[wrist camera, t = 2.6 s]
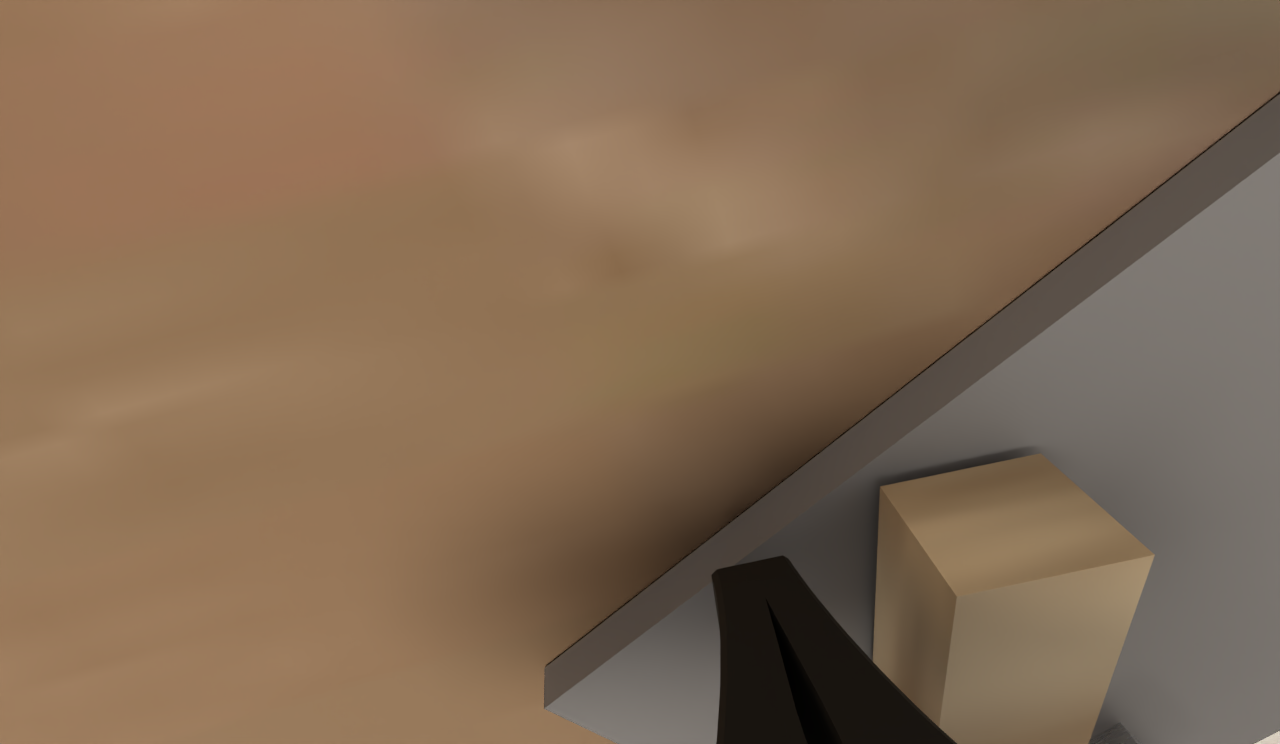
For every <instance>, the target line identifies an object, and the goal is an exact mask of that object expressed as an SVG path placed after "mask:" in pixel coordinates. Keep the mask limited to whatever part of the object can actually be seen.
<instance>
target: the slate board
mask: <svg viewBox="0 0 1280 744" xmlns="http://www.w3.org/2000/svg"><path fill="white" fill-rule="evenodd" d="M1040 453H1041V454H1042V455H1043V456H1044V457H1045V458H1047V459H1048V460H1049V461H1050V462H1051V463H1052V464H1053V465H1054V466H1056V467H1057V468H1058V469H1059V470H1060V471H1061V472H1062V473H1063V474H1065V475H1066V476H1067V477H1068V478H1069V479H1070V480H1071V481H1072V482H1074V483H1075V484H1076V485H1077V486H1078V487H1079V488H1080V489H1081V490H1083V491H1084V492H1085V493H1086V494H1087V495H1088V496H1089V497H1090V498H1092V499H1093V500H1094V501H1095V502H1096V503H1097V504H1098V505H1099V506H1101V507H1102V508H1103V509H1104V510H1105V511H1106V512H1107V513H1108V514H1110V515H1111V516H1112V517H1113V518H1114V519H1115V520H1116V521H1117V522H1118V523H1120V524H1121V525H1122V526H1123V527H1124V528H1125V529H1126V530H1127V531H1129V532H1130V533H1131V534H1132V535H1133V536H1134V537H1135V538H1136V539H1138V540H1139V541H1140V542H1141V543H1142V544H1143V545H1144V546H1145V547H1147V548H1148V549H1149V550H1150V551H1151V552H1152V553H1153V554H1154V555H1155V556H1154V559H1153V562H1152V564H1151V567H1150V570H1149V573H1148V576H1147V579H1146V582H1145V584H1144V587H1143V590H1142V593H1141V596H1140V599H1139V601H1138V604H1137V607H1136V610H1135V613H1134V616H1133V619H1132V621H1131V624H1130V627H1129V630H1128V633H1127V636H1126V638H1125V641H1124V644H1123V647H1122V650H1121V653H1120V656H1119V658H1118V661H1117V664H1116V667H1115V670H1114V673H1113V676H1112V678H1111V681H1110V684H1109V687H1108V690H1107V693H1106V695H1105V698H1104V701H1103V704H1102V707H1101V710H1100V713H1099V715H1098V718H1097V721H1096V724H1095V727H1094V730H1093V733H1092V735H1091V738H1093V737H1095V736H1097V735H1099V734H1100V733H1102V732H1104V731H1106V730H1108V729H1110V728H1111V727H1113V726H1115V725H1117V724H1119V723H1121V724H1122V725H1123V726H1124V727H1125V728H1127V729H1128V730H1129V731H1130V732H1131V733H1132V734H1133V735H1134V736H1135V737H1136V738H1137V739H1138V740H1139V741H1140V742H1141V743H1142V744H1254V743H1256V742H1258V741H1260V740H1262V739H1264V738H1266V737H1268V736H1270V735H1272V734H1274V733H1276V732H1278V731H1280V94H1279V95H1278V96H1276V97H1275V98H1274V99H1272V100H1271V101H1270V102H1269V103H1267V104H1266V105H1265V106H1264V107H1262V108H1261V109H1260V110H1258V111H1257V112H1256V113H1255V114H1253V115H1252V116H1251V117H1249V118H1248V119H1247V120H1246V121H1244V122H1243V123H1242V124H1240V125H1239V126H1238V127H1237V128H1235V129H1234V130H1233V131H1232V132H1230V133H1229V134H1228V135H1226V136H1225V137H1224V138H1223V139H1221V140H1220V141H1219V142H1217V143H1216V144H1215V145H1214V146H1212V147H1211V148H1210V149H1208V150H1207V151H1206V152H1205V153H1203V154H1202V155H1201V156H1199V157H1198V158H1197V159H1196V160H1194V161H1193V162H1192V163H1191V164H1189V165H1188V166H1187V167H1185V168H1184V169H1183V170H1182V171H1180V172H1179V173H1178V174H1176V175H1175V176H1174V177H1173V178H1171V179H1170V180H1169V181H1167V182H1166V183H1165V184H1164V185H1162V186H1161V187H1160V188H1159V189H1157V190H1156V191H1155V192H1153V193H1152V194H1151V195H1150V196H1148V197H1147V198H1146V199H1144V200H1143V201H1142V202H1141V203H1139V204H1138V205H1137V206H1135V207H1134V208H1133V209H1132V210H1130V211H1129V212H1128V213H1127V214H1125V215H1124V216H1123V217H1121V218H1120V219H1119V220H1118V221H1116V222H1115V223H1114V224H1112V225H1111V226H1110V227H1109V228H1107V229H1106V230H1105V231H1103V232H1102V233H1101V234H1100V235H1098V236H1097V237H1096V238H1094V239H1093V240H1092V241H1091V242H1089V243H1088V244H1087V245H1086V246H1084V247H1083V248H1082V249H1080V250H1079V251H1078V252H1077V253H1075V254H1074V255H1073V256H1071V257H1070V258H1069V259H1068V260H1066V261H1065V262H1064V263H1062V264H1061V265H1060V266H1059V267H1057V268H1056V269H1055V270H1054V271H1052V272H1051V273H1050V274H1048V275H1047V276H1046V277H1045V278H1043V279H1042V280H1041V281H1039V282H1038V283H1037V284H1036V285H1034V286H1033V287H1032V288H1030V289H1029V290H1028V291H1027V292H1025V293H1024V294H1023V295H1021V296H1020V297H1019V298H1018V299H1016V300H1015V301H1014V302H1013V303H1011V304H1010V305H1009V306H1007V307H1006V308H1005V309H1004V310H1002V311H1001V312H1000V313H998V314H997V315H996V316H995V317H993V318H992V319H991V320H989V321H988V322H987V323H986V324H984V325H983V326H982V327H981V328H979V329H978V330H977V331H975V332H974V333H973V334H972V335H970V336H969V337H968V338H966V339H965V340H964V341H963V342H961V343H960V344H959V345H957V346H956V347H955V348H954V349H952V350H951V351H950V352H949V353H947V354H946V355H945V356H943V357H942V358H941V359H940V360H938V361H937V362H936V363H934V364H933V365H932V366H931V367H929V368H928V369H927V370H925V371H924V372H923V373H922V374H920V375H919V376H918V377H916V378H915V379H914V380H913V381H911V382H910V383H909V384H908V385H906V386H905V387H904V388H902V389H901V390H900V391H899V392H897V393H896V394H895V395H893V396H892V397H891V398H890V399H888V400H887V401H886V402H884V403H883V404H882V405H881V406H879V407H878V408H877V409H876V410H874V411H873V412H872V413H870V414H869V415H868V416H867V417H865V418H864V419H863V420H861V421H860V422H859V423H858V424H856V425H855V426H854V427H852V428H851V429H850V430H849V431H847V432H846V433H845V434H843V435H842V436H841V437H840V438H838V439H837V440H836V441H835V442H833V443H832V444H831V445H829V446H828V447H827V448H826V449H824V450H823V451H822V452H820V453H819V454H818V455H817V456H815V457H814V458H813V459H811V460H810V461H809V462H808V463H806V464H805V465H804V466H803V467H801V468H800V469H799V470H797V471H796V472H795V473H794V474H792V475H791V476H790V477H788V478H787V479H786V480H785V481H783V482H782V483H781V484H779V485H778V486H777V487H776V488H774V489H773V490H772V491H771V492H769V493H768V494H767V495H765V496H764V497H763V498H762V499H760V500H759V501H758V502H756V503H755V504H754V505H753V506H751V507H750V508H749V509H747V510H746V511H745V512H744V513H742V514H741V515H740V516H738V517H737V518H736V519H735V520H733V521H732V522H731V523H730V524H728V525H727V526H726V527H724V528H723V529H722V530H721V531H719V532H718V533H717V534H715V535H714V536H713V537H712V538H710V539H709V540H708V541H706V542H705V543H704V544H703V545H701V546H700V547H699V548H698V549H696V550H695V551H694V552H692V553H691V554H690V555H689V556H687V557H686V558H685V559H683V560H682V561H681V562H680V563H678V564H677V565H676V566H674V567H673V568H672V569H671V570H669V571H668V572H667V573H665V574H664V575H663V576H662V577H660V578H659V579H658V580H657V581H655V582H654V583H653V584H651V585H650V586H649V587H648V588H646V589H645V590H644V591H642V592H641V593H640V594H639V595H637V596H636V597H635V598H633V599H632V600H631V601H630V602H628V603H627V604H626V605H625V606H623V607H622V608H621V609H619V610H618V611H617V612H616V613H614V614H613V615H612V616H610V617H609V618H608V619H607V620H605V621H604V622H603V623H601V624H600V625H599V626H598V627H596V628H595V629H594V630H593V631H591V632H590V633H589V634H587V635H586V636H585V637H584V638H582V639H581V640H580V641H578V642H577V643H576V644H575V645H573V646H572V647H571V648H569V649H568V650H567V651H566V652H564V653H563V654H562V655H560V656H559V657H558V658H557V659H555V660H554V661H553V662H552V663H550V664H549V665H548V666H546V667H545V678H544V709H546V710H548V711H550V712H552V713H554V714H556V715H558V716H561V717H563V718H565V719H567V720H569V721H571V722H573V723H575V724H577V725H579V726H581V727H584V728H586V729H588V730H590V731H592V732H594V733H596V734H598V735H600V736H602V737H604V738H607V739H609V740H611V741H613V742H615V743H617V744H716V742H717V728H718V713H719V698H720V630H719V623H718V616H717V610H716V603H715V597H714V590H713V583H712V577H711V575H712V574H713V573H714V572H715V571H716V570H717V569H720V568H725V567H730V566H735V565H739V564H744V563H749V562H754V561H758V560H763V559H768V558H773V557H777V556H782V555H783V556H785V557H787V558H788V559H789V560H790V561H791V563H792V564H793V566H794V567H795V569H796V570H797V571H798V573H799V574H800V576H801V577H802V578H803V580H804V581H805V582H806V584H807V585H808V586H809V588H810V589H811V590H812V591H813V593H814V594H815V595H816V597H817V598H818V599H819V600H820V602H821V603H822V604H823V605H824V606H825V608H826V609H827V610H828V611H829V613H830V614H831V615H832V616H833V617H834V619H835V620H836V621H837V622H838V623H839V624H840V626H841V627H842V628H843V629H844V630H845V631H846V632H847V634H848V635H849V636H850V637H851V638H852V639H853V640H854V641H855V642H856V644H857V645H858V646H859V647H860V648H861V649H862V650H863V651H864V652H865V653H866V655H867V656H868V657H869V658H870V659H871V660H872V661H873V643H874V619H875V595H876V570H877V546H878V522H879V498H880V486H885V485H890V484H895V483H899V482H904V481H909V480H914V479H919V478H924V477H928V476H933V475H938V474H943V473H948V472H953V471H958V470H962V469H967V468H972V467H977V466H982V465H987V464H991V463H996V462H1001V461H1006V460H1011V459H1016V458H1021V457H1025V456H1030V455H1035V454H1040ZM1091 738H1090V739H1091Z"/></svg>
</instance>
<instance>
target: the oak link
mask: <svg viewBox="0 0 1280 744" xmlns="http://www.w3.org/2000/svg"><path fill="white" fill-rule="evenodd" d="M1154 556H1155V555H1154V554H1153V553H1152V552H1151V551H1150V550H1149V549H1148V548H1147V547H1145V546H1144V545H1143V544H1142V543H1141V542H1140V541H1139V540H1138V539H1136V538H1135V537H1134V536H1133V535H1132V534H1131V533H1130V532H1129V531H1127V530H1126V529H1125V528H1124V527H1123V526H1122V525H1121V524H1120V523H1118V522H1117V521H1116V520H1115V519H1114V518H1113V517H1112V516H1111V515H1110V514H1108V513H1107V512H1106V511H1105V510H1104V509H1103V508H1102V507H1101V506H1099V505H1098V504H1097V503H1096V502H1095V501H1094V500H1093V499H1092V498H1090V497H1089V496H1088V495H1087V494H1086V493H1085V492H1084V491H1083V490H1081V489H1080V488H1079V487H1078V486H1077V485H1076V484H1075V483H1074V482H1072V481H1071V480H1070V479H1069V478H1068V477H1067V476H1066V475H1065V474H1063V473H1062V472H1061V471H1060V470H1059V469H1058V468H1057V467H1056V466H1054V465H1053V464H1052V463H1051V462H1050V461H1049V460H1048V459H1047V458H1045V457H1044V456H1043V455H1042V454H1041V453H1040V454H1035V455H1030V456H1025V457H1021V458H1016V459H1011V460H1006V461H1001V462H996V463H991V464H987V465H982V466H977V467H972V468H967V469H962V470H958V471H953V472H948V473H943V474H938V475H933V476H928V477H924V478H919V479H914V480H909V481H904V482H899V483H895V484H890V485H885V486H880V498H879V522H878V546H877V570H876V595H875V619H874V643H873V662H874V663H875V664H876V665H877V666H878V668H879V669H880V670H881V671H882V672H883V673H884V674H885V675H886V676H887V677H888V678H889V679H890V680H891V681H892V682H893V683H894V684H895V685H896V686H897V687H898V688H899V689H900V690H901V691H902V692H903V693H904V694H905V695H906V696H907V697H908V698H909V699H910V700H911V701H912V702H913V703H914V704H915V705H916V706H917V707H918V708H919V709H920V710H921V711H922V712H923V713H924V714H925V715H927V716H928V717H929V718H930V719H931V720H932V721H933V722H934V723H935V724H936V725H937V726H938V727H939V728H940V729H942V730H943V731H944V732H945V733H946V734H947V735H948V736H949V737H950V738H952V739H953V740H954V741H955V742H956V743H957V744H1089V741H1090V738H1091V735H1092V733H1093V730H1094V727H1095V724H1096V721H1097V718H1098V715H1099V713H1100V710H1101V707H1102V704H1103V701H1104V698H1105V695H1106V693H1107V690H1108V687H1109V684H1110V681H1111V678H1112V676H1113V673H1114V670H1115V667H1116V664H1117V661H1118V658H1119V656H1120V653H1121V650H1122V647H1123V644H1124V641H1125V638H1126V636H1127V633H1128V630H1129V627H1130V624H1131V621H1132V619H1133V616H1134V613H1135V610H1136V607H1137V604H1138V601H1139V599H1140V596H1141V593H1142V590H1143V587H1144V584H1145V582H1146V579H1147V576H1148V573H1149V570H1150V567H1151V564H1152V562H1153V559H1154Z"/></svg>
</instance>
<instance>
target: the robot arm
mask: <svg viewBox="0 0 1280 744" xmlns="http://www.w3.org/2000/svg"><path fill="white" fill-rule="evenodd" d="M711 577H712V583H713V590H714V597H715V603H716V610H717V616H718V623H719V630H720V698H719V713H718V728H717V742H716V744H957V743H956V742H955V741H954V740H953V739H952V738H950V737H949V736H948V735H947V734H946V733H945V732H944V731H943V730H942V729H940V728H939V727H938V726H937V725H936V724H935V723H934V722H933V721H932V720H931V719H930V718H929V717H928V716H927V715H925V714H924V713H923V712H922V711H921V710H920V709H919V708H918V707H917V706H916V705H915V704H914V703H913V702H912V701H911V700H910V699H909V698H908V697H907V696H906V695H905V694H904V693H903V692H902V691H901V690H900V689H899V688H898V687H897V686H896V685H895V684H894V683H893V682H892V681H891V680H890V679H889V678H888V677H887V676H886V675H885V674H884V673H883V672H882V671H881V670H880V669H879V668H878V666H877V665H876V664H875V663H874V662H873V661H872V660H871V659H870V658H869V657H868V656H867V655H866V653H865V652H864V651H863V650H862V649H861V648H860V647H859V646H858V645H857V644H856V642H855V641H854V640H853V639H852V638H851V637H850V636H849V635H848V634H847V632H846V631H845V630H844V629H843V628H842V627H841V626H840V624H839V623H838V622H837V621H836V620H835V619H834V617H833V616H832V615H831V614H830V613H829V611H828V610H827V609H826V608H825V606H824V605H823V604H822V603H821V602H820V600H819V599H818V598H817V597H816V595H815V594H814V593H813V591H812V590H811V589H810V588H809V586H808V585H807V584H806V582H805V581H804V580H803V578H802V577H801V576H800V574H799V573H798V571H797V570H796V569H795V567H794V566H793V564H792V563H791V561H790V560H789V559H788V558H787V557H785V556H783V555H782V556H777V557H773V558H768V559H763V560H758V561H754V562H749V563H744V564H739V565H735V566H730V567H725V568H720V569H717V570H716V571H715V572H714V573H713V574H712V575H711Z"/></svg>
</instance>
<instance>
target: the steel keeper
mask: <svg viewBox="0 0 1280 744" xmlns="http://www.w3.org/2000/svg"><path fill="white" fill-rule="evenodd" d="M1089 744H1142V743H1141V742H1140V741H1139V740H1138V739H1137V738H1136V737H1135V736H1134V735H1133V734H1132V733H1131V732H1130V731H1129V730H1128V729H1127V728H1125V727H1124V726H1123V725H1122V724H1121V723H1119V724H1117V725H1115V726H1113V727H1111V728H1110V729H1108V730H1106V731H1104V732H1102V733H1100V734H1099V735H1097V736H1095V737H1093V738H1091V739H1090V741H1089Z"/></svg>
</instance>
